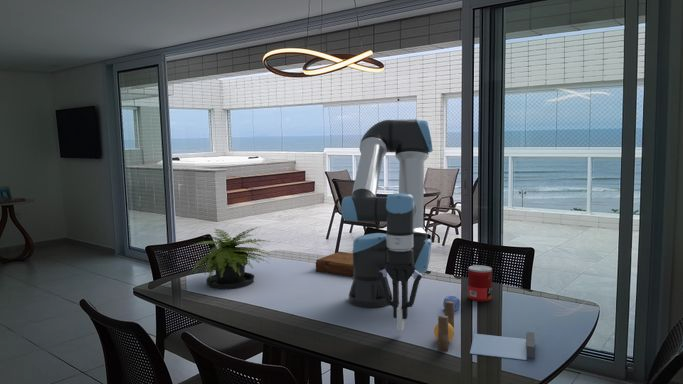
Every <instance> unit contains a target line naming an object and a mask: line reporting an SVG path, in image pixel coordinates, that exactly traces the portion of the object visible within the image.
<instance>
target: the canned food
mask: <svg viewBox="0 0 683 384" xmlns="http://www.w3.org/2000/svg"><path fill="white" fill-rule="evenodd" d="M467 273H468V274H467V288H468V289H467V296H468V299H469V300H471V301H473V302H479V303H480V302H481V303H483V302H486V303H487V302H490V301H491V300H492V297H493V295H492V293H493V292H492V291H493V268H492V267H491V266H487V265H480V264H474V265H470V266H468V271H467Z"/></svg>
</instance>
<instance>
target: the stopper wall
mask: <svg viewBox="0 0 683 384" xmlns="http://www.w3.org/2000/svg"><path fill="white" fill-rule="evenodd" d="M525 334H526V335H525V337H526V338H525V339H526V354H527V358H528V359H535V358H536V341H535V340H536V339H535V332H531V331H526V333H525Z"/></svg>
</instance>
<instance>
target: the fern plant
mask: <svg viewBox="0 0 683 384" xmlns="http://www.w3.org/2000/svg"><path fill="white" fill-rule="evenodd" d="M259 228H260V227H254V228H250V229H246V231H241V232H240V233H239V234H238V235H235V236H234V237H231V236H230V233H229V232H228V231H225V230H222V229H220V228H214V229H213V230H214V234H217V236H216V237H214V236H209V238H211V239H213V240H206V241H205V240H203V241H200V242H197V243H192V244H190V245H189V247H192V246H196V245H198V246H199V245H206V246H207V245H209V244H210V245H211V244H212V245H213V244H214V245H215V246H214V247H211V248H209V249H205V248H204V249H203V250H201V251H195V252H193V253H192V254H191V255H194V256H193V257H191V259H193V258H196V254H197V258H199V257H201V258H200V260H197V261H196V262H194V263H192V264H191V265H190V266H189V269H191V268H192V267H193V266H194V267H193V268H192V271H191V272H190V273H189V275H190V274H192V273H193V271H194V270H195V272H194V273H193V275H195V274H196V273H197V272H198V270H199V268H200V269H202V268H203V267H205V269H204V271H205V272H204V275H206V274H207V272H208V277H207V278H206V286H207V287H209V288H210V289H215V290H235V289H241V288H246V287H248V286H251V285H252V284H254V282H255V275H254V274H252V273H250V272H246V271H245V269H246V266H249V267H250V268H251V269H252V270H253V269H254V265H252V263H251V262H250V260H253V261H255V262H257V263H258V264H260V261H262V262H266V263H267V264H270V262H268V261H267V260H265V259H264V258H267V259H268V260H271V258H269V257H268V256H272V254H271V253H268V251H266V250H264V249H260V248H259V247H246V246H245V247H244V246H241V245H245V244H250V243H251V244H255V245H257V246H260V244H259V243H258V242H266V243H267V242H268V243H271V241H270V240H266V239H259V238H254V239H252V238H251V237H253V236H254V234H249V232H252V231H254V230H255V229H259ZM205 237H207V236H205V235H204V238H205ZM246 238H248V239H246ZM245 239H246V240H245ZM205 253H207V254H206V255H204V254H205ZM258 253H259V254H258ZM202 254H203V255H202ZM262 254H265V255H267V256H265V255H262ZM188 256H190V254H188V255H186V256H184V258H186V257H188ZM261 257H263V258H261ZM214 272H215V273H214Z"/></svg>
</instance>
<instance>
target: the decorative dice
mask: <svg viewBox="0 0 683 384" xmlns="http://www.w3.org/2000/svg"><path fill="white" fill-rule="evenodd" d="M446 301H452V302H454V312H456V311H458V310H459V309H460V305H461V301H460V299H459V298H458V297H457V296H455V295H447V296H446V297H445V298H444V299H443V303H442V305H443V308H444V309H445V302H446Z"/></svg>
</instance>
